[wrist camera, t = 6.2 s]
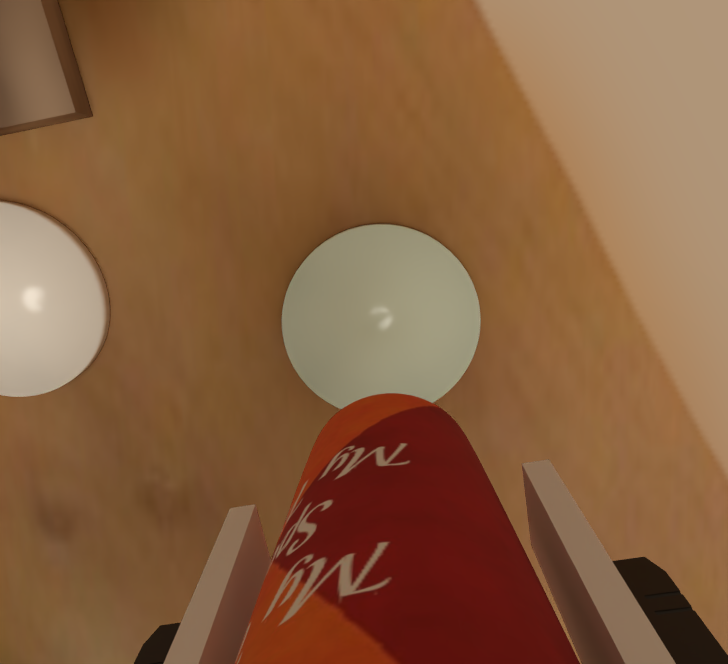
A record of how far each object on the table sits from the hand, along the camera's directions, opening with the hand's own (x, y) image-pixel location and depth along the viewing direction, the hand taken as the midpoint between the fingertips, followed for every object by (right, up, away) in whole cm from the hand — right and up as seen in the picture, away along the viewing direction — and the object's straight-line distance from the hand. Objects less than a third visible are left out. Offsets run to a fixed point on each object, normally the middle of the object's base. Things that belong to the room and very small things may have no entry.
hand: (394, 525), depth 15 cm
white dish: (-24, +8, +21) cm, 33 cm away
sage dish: (0, +6, +21) cm, 22 cm away
